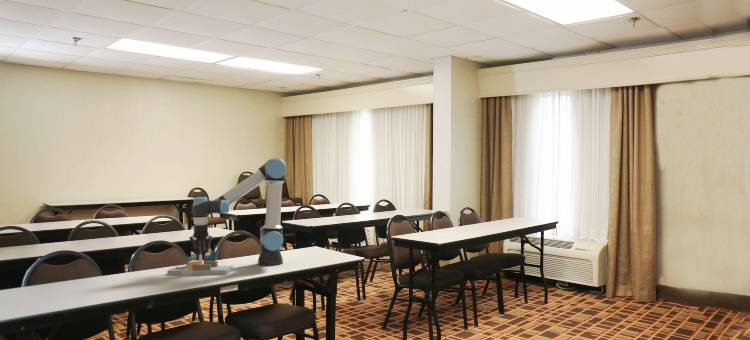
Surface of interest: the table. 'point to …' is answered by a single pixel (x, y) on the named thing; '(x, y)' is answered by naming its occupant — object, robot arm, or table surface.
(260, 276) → the table surface
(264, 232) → the robot arm
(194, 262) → the block
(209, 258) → the teal l-shaped bracket
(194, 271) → the deck
